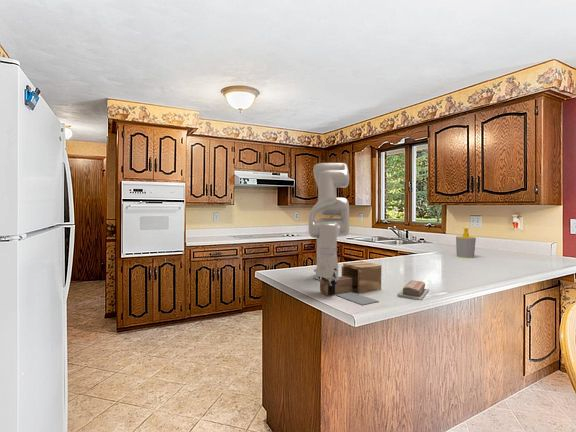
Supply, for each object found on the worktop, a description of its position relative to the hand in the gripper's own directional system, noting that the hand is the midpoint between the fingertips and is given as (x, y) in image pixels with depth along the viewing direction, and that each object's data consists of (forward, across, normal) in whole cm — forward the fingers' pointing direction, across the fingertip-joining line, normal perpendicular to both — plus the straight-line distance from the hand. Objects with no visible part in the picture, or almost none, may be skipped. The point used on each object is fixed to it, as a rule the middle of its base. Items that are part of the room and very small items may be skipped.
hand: (327, 292), depth 151 cm
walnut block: (+1, 0, +5) cm, 5 cm away
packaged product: (+1, +19, +33) cm, 38 cm away
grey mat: (+1, +12, +6) cm, 13 cm away
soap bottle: (+1, -29, +152) cm, 155 cm away
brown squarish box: (+1, 0, +20) cm, 20 cm away
